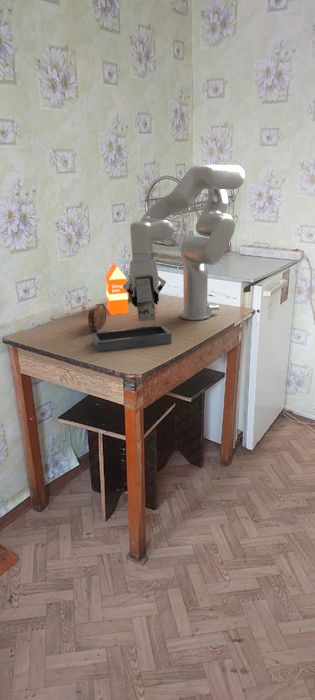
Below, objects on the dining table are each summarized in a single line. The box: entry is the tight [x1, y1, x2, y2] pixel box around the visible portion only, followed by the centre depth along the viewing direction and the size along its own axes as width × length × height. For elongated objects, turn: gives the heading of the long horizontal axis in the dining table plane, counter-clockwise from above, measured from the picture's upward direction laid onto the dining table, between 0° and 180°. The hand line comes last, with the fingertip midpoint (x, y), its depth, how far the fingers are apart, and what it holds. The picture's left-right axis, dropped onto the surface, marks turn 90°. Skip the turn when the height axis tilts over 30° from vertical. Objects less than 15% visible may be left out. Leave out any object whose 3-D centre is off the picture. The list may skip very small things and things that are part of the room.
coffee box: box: [136, 276, 156, 322], centre depth 191 cm, size 9×6×16 cm
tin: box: [87, 303, 107, 332], centre depth 198 cm, size 15×3×8 cm, turn 168°
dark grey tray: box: [91, 324, 173, 353], centre depth 181 cm, size 26×10×4 cm, turn 107°
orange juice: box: [105, 262, 129, 315], centre depth 216 cm, size 8×9×20 cm
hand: (145, 304), depth 192 cm, fingers closed on coffee box, 7 cm apart
